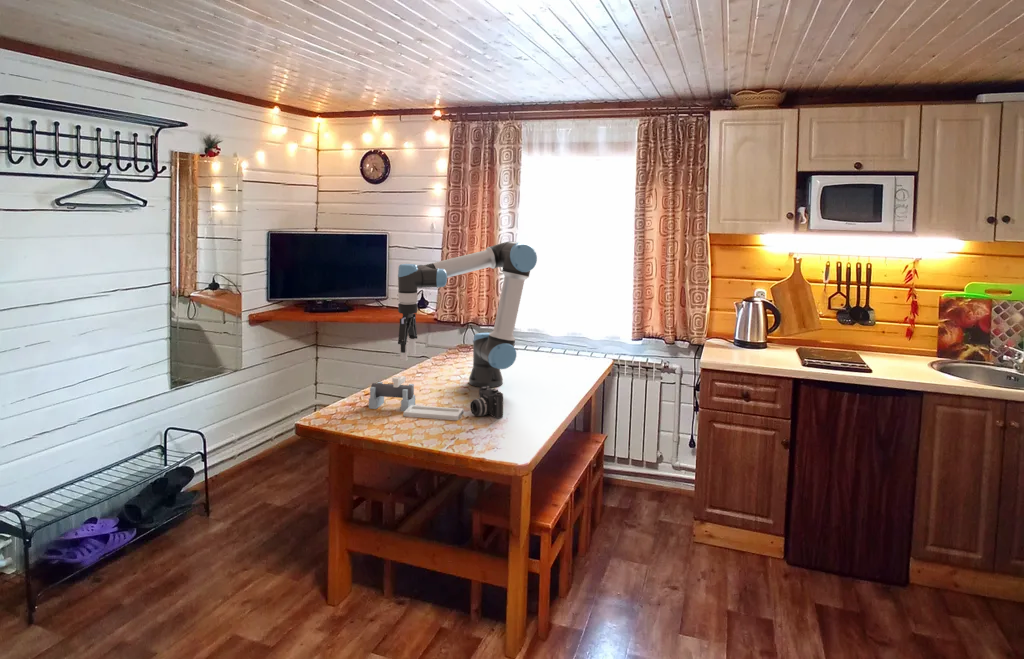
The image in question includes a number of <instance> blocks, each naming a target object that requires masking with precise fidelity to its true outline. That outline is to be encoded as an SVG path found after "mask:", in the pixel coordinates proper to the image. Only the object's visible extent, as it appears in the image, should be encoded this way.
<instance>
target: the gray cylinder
mask: <svg viewBox="0 0 1024 659" xmlns="http://www.w3.org/2000/svg"><path fill="white" fill-rule="evenodd" d="M371 387H376V396H383V397H384V398H401V399H402V390H403V389H408V398H412V397H413V394H414V395H415V392H414V391H415V388H414V387H413V386H409V384H401V385H400V386H399V387H398V388H397V387H394V383H382V384H380V383H378V382H377V383H376V382H372V383H371V386H370V388H371Z"/></svg>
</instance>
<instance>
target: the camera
mask: <svg viewBox="0 0 1024 659" xmlns="http://www.w3.org/2000/svg"><path fill="white" fill-rule="evenodd" d="M478 395H479V396H478V397H479V398H474V399H473V400H472V401H470V405H469V407H470V408H469V409H470V412H471V414H472V415H474V416H476V417H479V416H487V415H490V416H492V417H494V418H496V419H501V418H503V416H504V395H503V393H502V392H501V391H499V389H496V388H495V387H493V388H492V387H489V386H487V387H479V388H478Z"/></svg>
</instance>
